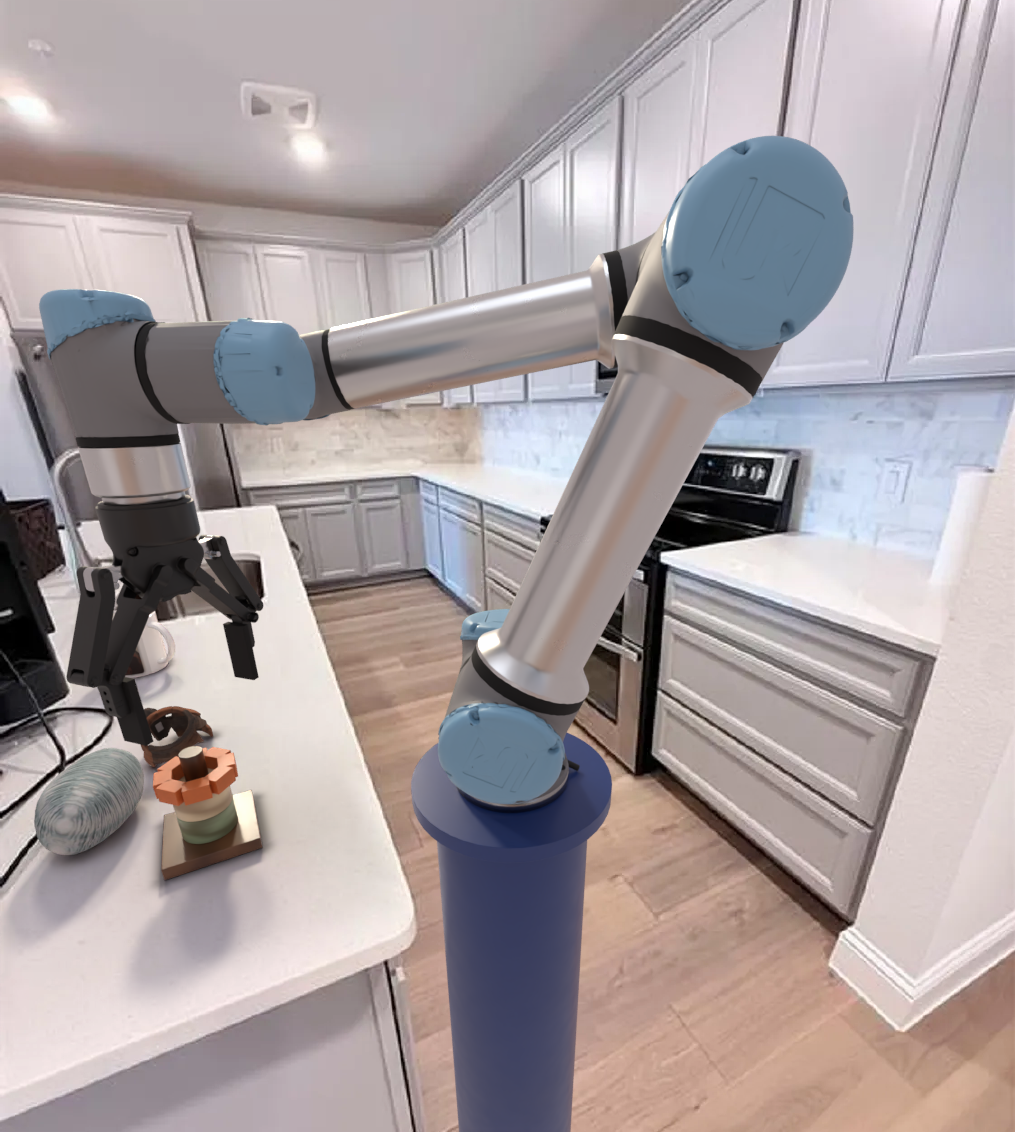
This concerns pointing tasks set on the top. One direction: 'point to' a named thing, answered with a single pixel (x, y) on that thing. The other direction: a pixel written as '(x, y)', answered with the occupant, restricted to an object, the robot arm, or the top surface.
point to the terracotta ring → (197, 789)
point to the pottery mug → (181, 723)
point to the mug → (151, 649)
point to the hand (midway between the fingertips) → (198, 706)
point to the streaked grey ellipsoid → (88, 801)
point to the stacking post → (207, 824)
